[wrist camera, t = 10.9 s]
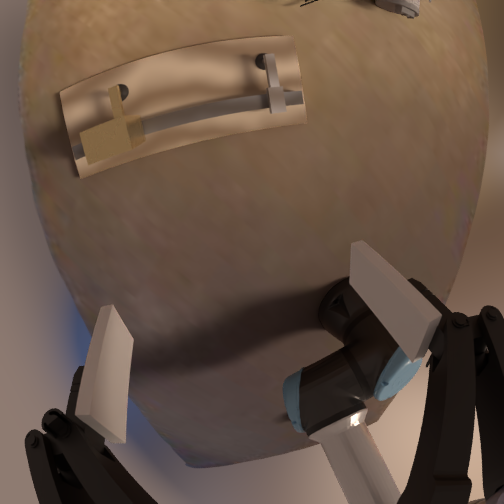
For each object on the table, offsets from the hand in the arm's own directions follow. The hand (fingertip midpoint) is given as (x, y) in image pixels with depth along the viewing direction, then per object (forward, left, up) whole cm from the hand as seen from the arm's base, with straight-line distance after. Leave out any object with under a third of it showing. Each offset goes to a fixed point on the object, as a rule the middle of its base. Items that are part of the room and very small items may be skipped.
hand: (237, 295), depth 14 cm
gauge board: (+12, +1, -29) cm, 31 cm away
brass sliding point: (+11, +9, -27) cm, 30 cm away
